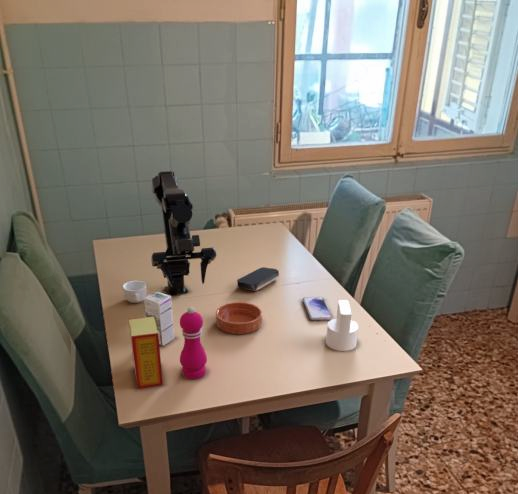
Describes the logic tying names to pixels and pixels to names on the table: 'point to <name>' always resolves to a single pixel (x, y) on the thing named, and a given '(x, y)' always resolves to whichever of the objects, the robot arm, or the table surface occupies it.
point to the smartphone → (317, 308)
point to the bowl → (239, 317)
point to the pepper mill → (192, 345)
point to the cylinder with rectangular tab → (342, 329)
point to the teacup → (135, 291)
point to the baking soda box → (146, 352)
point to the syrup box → (161, 315)
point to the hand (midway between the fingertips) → (187, 285)
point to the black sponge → (258, 279)
